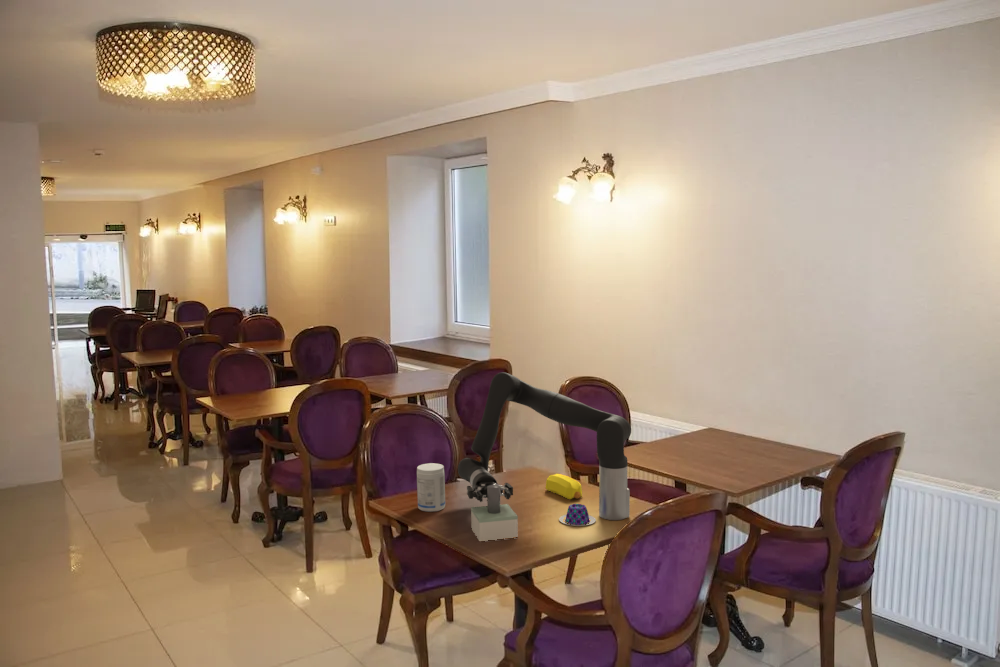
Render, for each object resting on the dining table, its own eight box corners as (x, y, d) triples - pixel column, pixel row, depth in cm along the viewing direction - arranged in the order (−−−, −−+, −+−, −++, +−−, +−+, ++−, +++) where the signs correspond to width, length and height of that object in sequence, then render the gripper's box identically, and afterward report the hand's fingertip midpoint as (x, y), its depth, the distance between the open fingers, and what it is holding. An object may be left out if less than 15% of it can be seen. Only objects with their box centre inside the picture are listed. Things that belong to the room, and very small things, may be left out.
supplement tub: (435, 502, 272) (434, 461, 271) (450, 508, 265) (450, 466, 263) (412, 507, 266) (411, 466, 265) (427, 514, 259) (426, 471, 257)
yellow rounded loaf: (557, 486, 290) (540, 490, 285) (557, 469, 289) (540, 472, 285) (587, 499, 274) (570, 502, 270) (587, 480, 274) (570, 484, 270)
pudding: (555, 516, 256) (555, 501, 256) (590, 514, 258) (590, 499, 257) (563, 529, 244) (563, 513, 244) (600, 526, 246) (600, 510, 246)
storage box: (507, 525, 247) (507, 507, 247) (517, 538, 236) (517, 519, 235) (471, 528, 245) (471, 510, 244) (479, 541, 233) (479, 522, 232)
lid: (507, 511, 247) (507, 479, 246) (517, 523, 235) (517, 490, 234) (471, 515, 244) (470, 482, 243) (479, 527, 233) (479, 493, 232)
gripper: (462, 473, 251) (472, 487, 235) (504, 470, 255) (517, 483, 239) (462, 495, 252) (472, 511, 236) (504, 492, 255) (517, 507, 240)
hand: (495, 497), depth 238 cm, fingers open, 8 cm apart
